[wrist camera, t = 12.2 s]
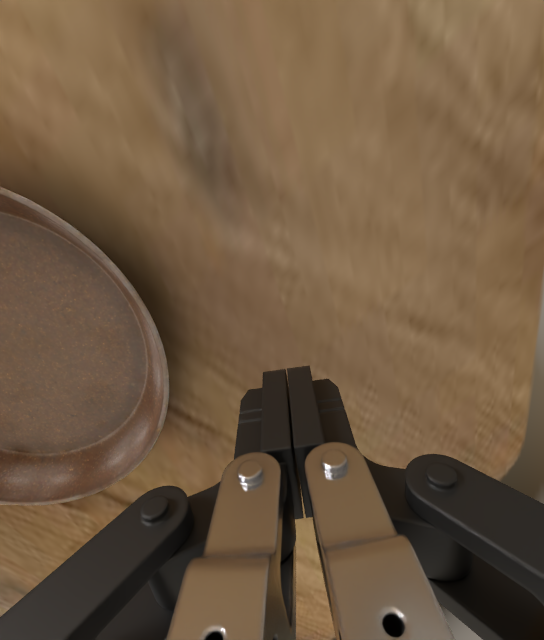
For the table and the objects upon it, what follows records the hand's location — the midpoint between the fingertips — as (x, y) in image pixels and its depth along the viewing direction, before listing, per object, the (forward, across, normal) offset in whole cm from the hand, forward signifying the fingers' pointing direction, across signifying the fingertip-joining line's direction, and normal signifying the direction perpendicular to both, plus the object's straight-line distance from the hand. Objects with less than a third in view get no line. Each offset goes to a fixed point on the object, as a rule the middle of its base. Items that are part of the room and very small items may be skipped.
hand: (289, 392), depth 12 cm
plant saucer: (+8, +14, 0) cm, 17 cm away
